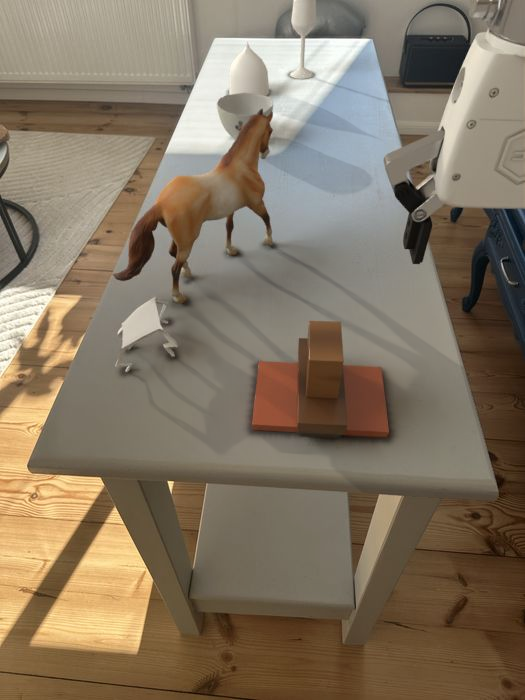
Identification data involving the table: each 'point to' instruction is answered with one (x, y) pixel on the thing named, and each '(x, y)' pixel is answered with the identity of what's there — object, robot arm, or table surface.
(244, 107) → the teacup
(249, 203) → the horse figurine
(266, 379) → the tile
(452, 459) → the table surface
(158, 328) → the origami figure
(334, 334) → the brown stepped block
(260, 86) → the teardrop
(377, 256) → the table surface
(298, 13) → the champagne flute
